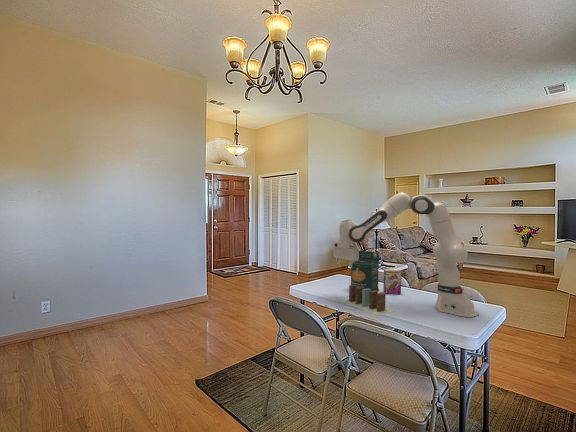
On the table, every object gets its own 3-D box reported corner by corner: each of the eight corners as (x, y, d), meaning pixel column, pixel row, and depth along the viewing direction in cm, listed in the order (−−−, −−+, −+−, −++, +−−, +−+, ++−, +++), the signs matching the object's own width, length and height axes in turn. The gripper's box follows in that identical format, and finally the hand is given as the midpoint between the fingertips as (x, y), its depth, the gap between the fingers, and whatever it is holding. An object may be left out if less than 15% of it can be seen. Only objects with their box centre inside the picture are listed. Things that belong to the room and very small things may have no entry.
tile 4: (363, 303, 190) (363, 287, 190) (357, 304, 187) (358, 288, 187) (361, 302, 192) (361, 286, 192) (355, 303, 189) (355, 287, 189)
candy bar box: (384, 294, 213) (385, 270, 213) (383, 292, 218) (383, 269, 218) (401, 294, 212) (401, 271, 212) (399, 292, 217) (399, 269, 217)
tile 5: (357, 300, 195) (357, 285, 194) (351, 302, 192) (351, 286, 192) (354, 300, 196) (354, 284, 196) (349, 301, 193) (349, 285, 193)
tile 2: (377, 307, 181) (377, 291, 181) (371, 309, 178) (372, 292, 178) (375, 307, 182) (375, 290, 182) (369, 308, 180) (369, 291, 180)
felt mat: (396, 311, 176) (396, 310, 176) (378, 316, 168) (378, 315, 168) (356, 298, 202) (356, 297, 202) (339, 301, 194) (339, 301, 194)
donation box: (378, 291, 219) (379, 252, 219) (367, 296, 208) (368, 254, 207) (358, 287, 230) (358, 250, 230) (347, 291, 218) (347, 252, 218)
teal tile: (370, 305, 185) (370, 288, 185) (364, 306, 183) (364, 290, 183) (367, 304, 187) (368, 288, 187) (362, 305, 184) (362, 289, 184)
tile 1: (385, 310, 176) (385, 293, 176) (379, 311, 173) (379, 294, 173) (382, 309, 178) (382, 292, 178) (376, 311, 175) (376, 293, 175)
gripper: (361, 246, 192) (360, 268, 193) (338, 243, 209) (338, 263, 210) (354, 246, 189) (353, 269, 189) (331, 243, 206) (331, 264, 206)
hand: (345, 266), depth 200 cm, fingers open, 7 cm apart
